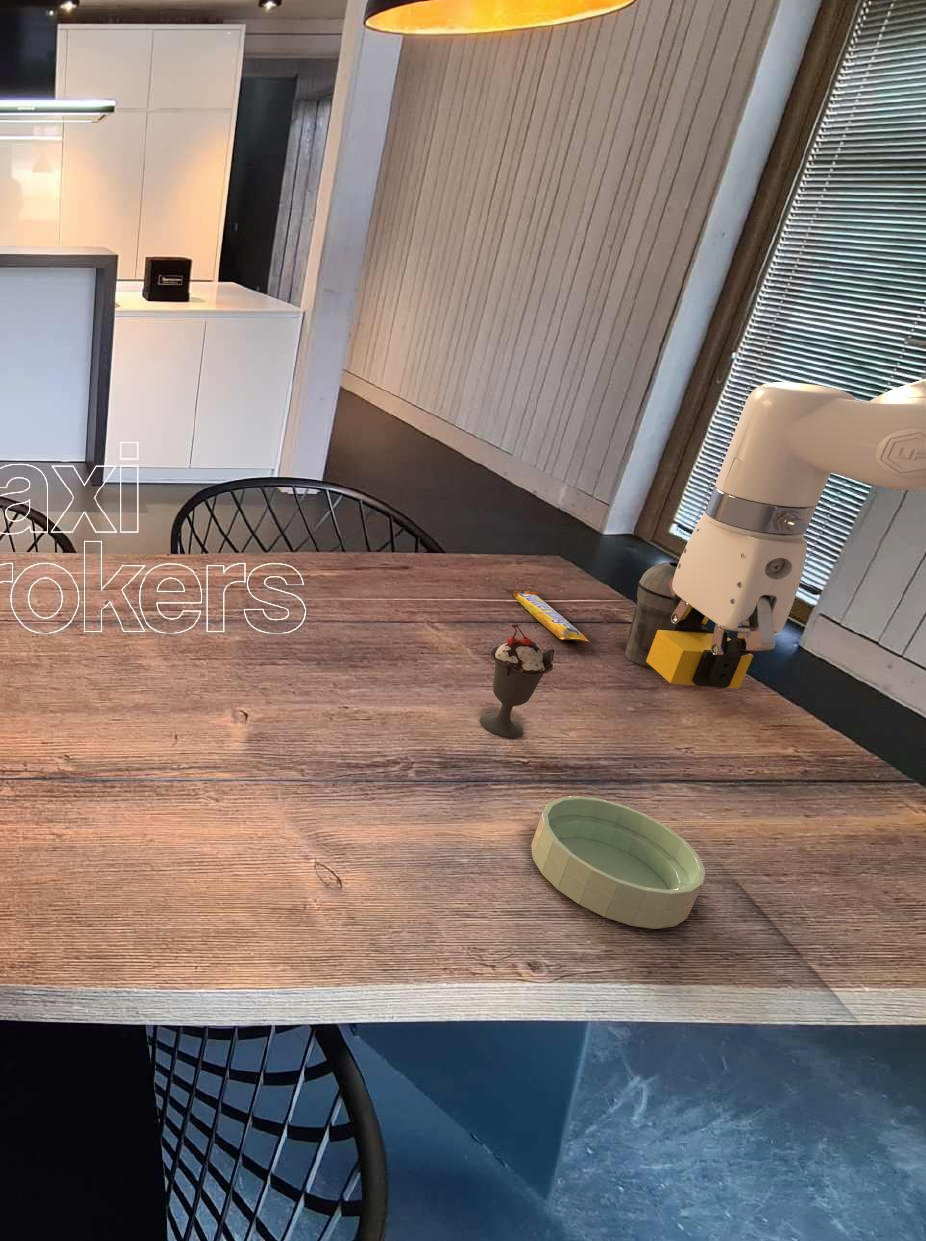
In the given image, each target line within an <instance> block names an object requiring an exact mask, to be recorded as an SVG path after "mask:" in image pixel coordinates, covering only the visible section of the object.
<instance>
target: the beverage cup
mask: <svg viewBox="0 0 926 1241" xmlns="http://www.w3.org/2000/svg"><path fill="white" fill-rule="evenodd" d="M678 563H679V562H675V561H667V562H659V563H658V564H656V565H653V566H651V567H650V568H648V569H647V570H646V571H645V572H644V573H643V574H642V576H641V578H640V579H639V580H638V582H637V586H638V587H637V591H636V592H637V593H636V598H637V600H636V604H635V608H634V612H633V615H632V620H631V625H630V629H629V632H628V637H627V642H626V648H625V652H624V656H625V658H627V659H628V660H629V661H631V662H633V663H635V664H637V665H641V666H644V667H650V668H653V667H652V666H650V665H649V664H648V663H647V662H646V660H647V657H648V654H649V652H650V649H651V646H652V644H653V641H654V638H655V636H656V633H657V630H667V631H671V628H672V626H673V625H676V624H673V623H672V621H671V616H672V614H673V612H674V611H675V610H674V606H673V601H672V599H673V596H672V593H671V590H670V587H669V584H668V583H669V580H670V579H671V578H672V577H674V574H675V571H676V568H677V566H678Z"/></svg>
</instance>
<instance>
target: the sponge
mask: <svg viewBox="0 0 926 1241" xmlns="http://www.w3.org/2000/svg"><path fill="white" fill-rule="evenodd" d="M712 638H713V633H708V632H707V633H695V632H681V631H667V630H657V633H656V636H655V638H654V641H653V644H652V646H651V649H650V652H649V654H648V657H647V660H646V662H647V663H648V664H649V665H650V666H652V667H651V668H653V670H654V671H656V672H657V673H658V674H659V675H661V677H663V679H665V681H667V682H668V683H670V684H672V685H673V684H674V685H686V686H687V685H688V686H697V685H696V684H694V683H693V682H692V679H693V677H694V674H695V672H696V669H697V667H698V664H699V662H700V659H701V657H702V654H703V651H704V650H711V643H712ZM729 640H732V639H731V638H729V637H728V639H727V641H729ZM753 657H754V655H753V653H750V654H749V655H748V656H747V657H741V660H740V662H739V664H738V667H737V669H736V671H735V674H734V676H733V679H732V681H731V683H730V685H729V686H728V687H727V688H726V689H738V690H739V689H740V687H741V686H742V683H743V680H744V678H745V676H746V673H747V672H748V669H749V667H750V664H751V662H752V660H753Z"/></svg>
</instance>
